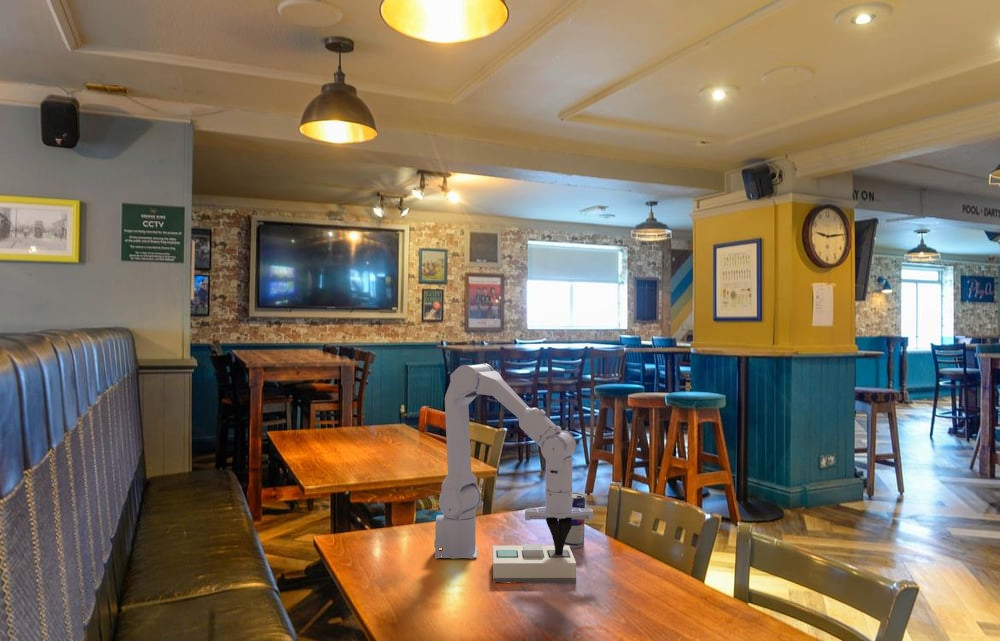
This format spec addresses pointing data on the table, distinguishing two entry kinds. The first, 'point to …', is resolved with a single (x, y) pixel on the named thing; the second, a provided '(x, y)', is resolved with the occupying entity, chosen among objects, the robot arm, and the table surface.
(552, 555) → the charcoal key
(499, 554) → the teal key
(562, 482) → the robot arm
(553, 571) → the keypad
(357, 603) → the table surface
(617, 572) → the table surface
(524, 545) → the grey key
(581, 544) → the energy drink
